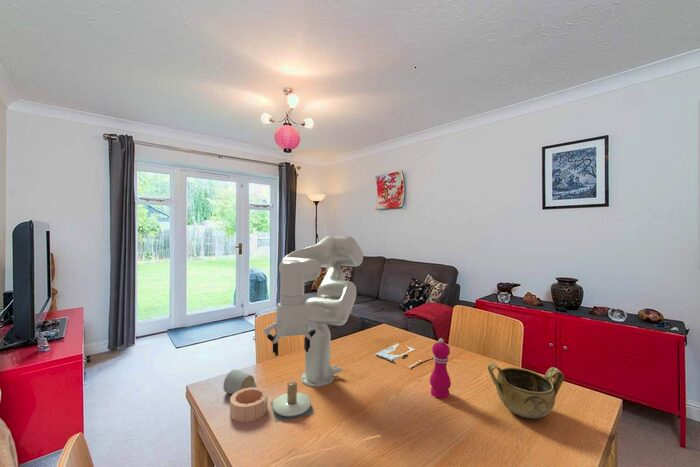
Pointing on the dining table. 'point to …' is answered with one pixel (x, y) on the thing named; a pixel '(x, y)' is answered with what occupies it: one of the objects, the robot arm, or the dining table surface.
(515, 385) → the ceramic bowl
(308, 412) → the placemat
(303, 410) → the lid
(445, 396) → the pepper mill
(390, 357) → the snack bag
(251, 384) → the ceramic mug
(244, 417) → the round wooden tub
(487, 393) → the dining table surface
